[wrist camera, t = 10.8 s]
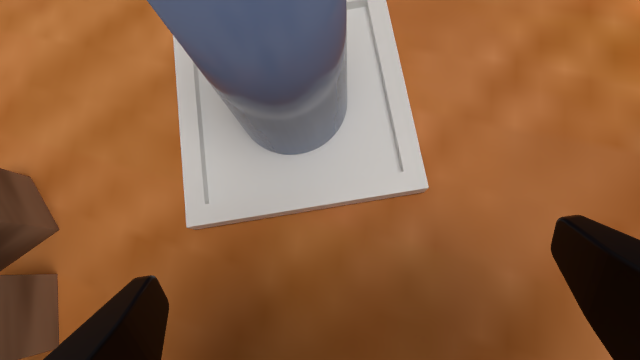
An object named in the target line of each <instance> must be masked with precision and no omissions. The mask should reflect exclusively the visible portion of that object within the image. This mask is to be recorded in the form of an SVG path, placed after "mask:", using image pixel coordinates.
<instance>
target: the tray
mask: <svg viewBox="0 0 640 360" xmlns="http://www.w3.org/2000/svg"><path fill="white" fill-rule="evenodd" d="M346 6H347V110H346V115H345V118H344V120H343V123H342V125H341V126H340V128H339V130H338V131H337V132H336V134H335V135H334V136H333V137H332V138H331V139H330V140H329V141H328V142H326V143H325V144H324V145H322V146H320V147H319V148H317V149H315V150H313V151H310V152H307V153H303V154H297V155H284V154H278V153H274V152H271V151H269V150H267V149H265V148H263V147H261V146H260V145H258V144H257V143H256V142H255V141H254V140H252V139H251V137H250V136H249V135H248V134H247V132H246V131H245V130H244V128H243V127H242V126H241V124H240V123H239V122H238V120H237V119H236V118H235V116H234V115H233V114H232V112H231V111H230V110H229V108H228V107H227V106H226V105H225V103H224V102H223V101H222V99H221V98H220V97H219V95H218V94H217V93H216V91H215V90H214V89H213V87H212V86H211V85H210V83H209V82H208V81H207V79H206V78H205V77H204V75H203V74H202V73H201V71H200V70H199V69H198V67H197V66H196V65H195V63H194V62H193V61H192V59H191V58H190V57H189V55H188V54H187V53H186V51H185V50H184V49H183V47H182V46H181V45H180V43H179V42H178V41H177V39H176V38H175V37H174V35H173V41H174V55H175V69H176V83H177V98H178V112H179V126H180V140H181V154H182V169H183V183H184V197H185V211H186V225H187V228H191V229H195V230H196V229H202V228H208V227H215V226H221V225H227V224H233V223H239V222H245V221H251V220H257V219H263V218H270V217H276V216H282V215H288V214H294V213H300V212H306V211H312V210H318V209H325V208H331V207H337V206H343V205H349V204H355V203H361V202H367V201H373V200H380V199H386V198H392V197H398V196H404V195H410V194H416V193H422V192H425V191H426V190H427V189H428V188H429V187H428V183H427V178H426V174H425V169H424V165H423V161H422V156H421V152H420V147H419V143H418V139H417V134H416V130H415V126H414V121H413V117H412V112H411V108H410V104H409V99H408V95H407V90H406V86H405V82H404V77H403V73H402V69H401V64H400V60H399V55H398V51H397V47H396V42H395V38H394V33H393V29H392V25H391V20H390V16H389V12H388V7H387V3H386V0H346Z"/></svg>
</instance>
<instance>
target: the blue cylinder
mask: <svg viewBox="0 0 640 360" xmlns="http://www.w3.org/2000/svg"><path fill="white" fill-rule="evenodd" d="M147 1H148V2H149V4H150V5H151V6H152V8H153V9H154V10H155V12H156V13H157V14H158V16H159V17H160V18H161V20H162V21H163V22H164V24H165V25H166V26H167V28H168V29H169V30H170V32H171V33H172V34H173V35H174V37H175V38H176V39H177V41H178V42H179V43H180V45H181V46H182V47H183V49H184V50H185V51H186V53H187V54H188V55H189V57H190V58H191V59H192V61H193V62H194V63H195V65H196V66H197V67H198V69H199V70H200V71H201V73H202V74H203V75H204V77H205V78H206V79H207V81H208V82H209V83H210V85H211V86H212V87H213V89H214V90H215V91H216V93H217V94H218V95H219V97H220V98H221V99H222V101H223V102H224V103H225V105H226V106H227V107H228V108H229V110H230V111H231V112H232V114H233V115H234V116H235V118H236V119H237V120H238V122H239V123H240V124H241V126H242V127H243V128H244V130H245V131H246V132H247V134H248V135H249V136H250V137H251V139H252V140H254V141H255V142H256V143H257V144H258V145H260V146H261V147H263V148H265V149H267V150H269V151H271V152H274V153H278V154H284V155H297V154H303V153H307V152H310V151H313V150H315V149H317V148H319V147H320V146H322V145H324V144H325V143H326V142H328V141H329V140H330V139H331V138H332V137H333V136H334V135H335V134H336V132H337V131H338V130H339V128H340V126H341V125H342V123H343V120H344V118H345V115H346V110H347V6H346V0H147Z"/></svg>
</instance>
